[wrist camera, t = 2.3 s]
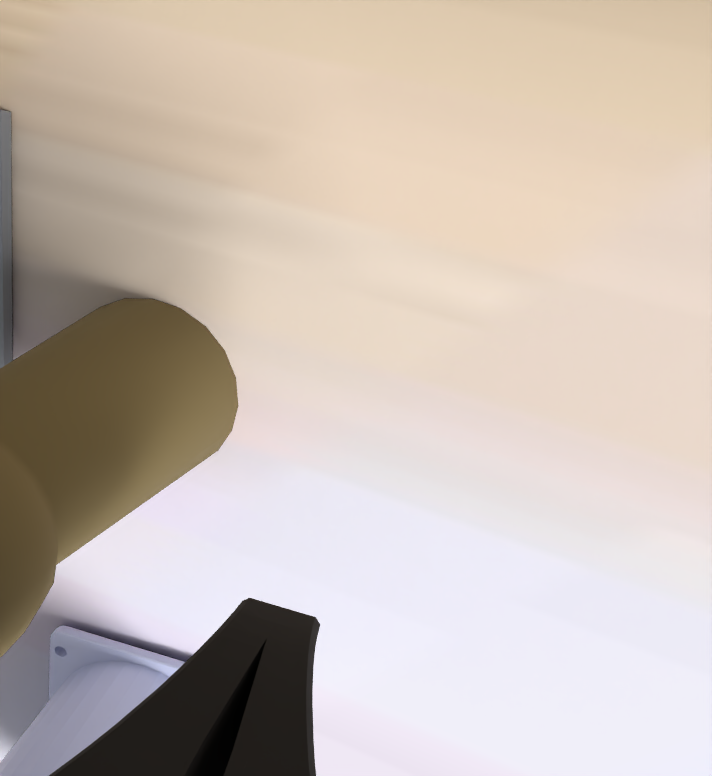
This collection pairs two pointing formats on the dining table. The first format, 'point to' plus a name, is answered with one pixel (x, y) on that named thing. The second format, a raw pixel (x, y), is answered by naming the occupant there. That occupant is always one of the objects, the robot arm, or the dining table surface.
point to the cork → (99, 435)
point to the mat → (5, 240)
